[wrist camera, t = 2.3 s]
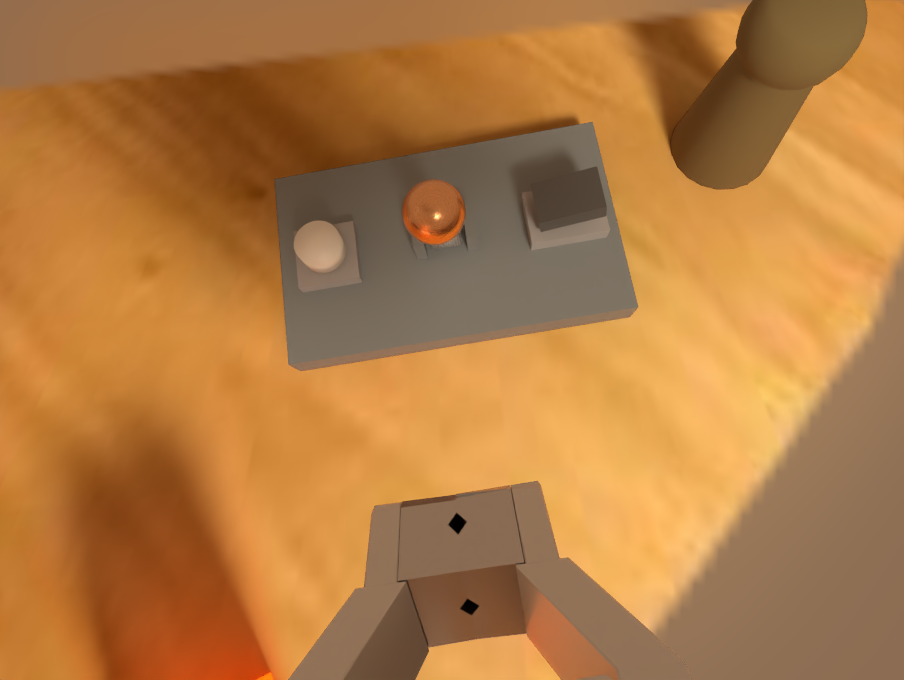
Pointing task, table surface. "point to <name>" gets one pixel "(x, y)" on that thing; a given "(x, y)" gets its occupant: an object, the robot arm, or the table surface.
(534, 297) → the control panel
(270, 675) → the orange juice
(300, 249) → the push button
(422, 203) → the copper ball joystick
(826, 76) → the brown pawn
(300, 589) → the table surface
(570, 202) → the rocker switch
